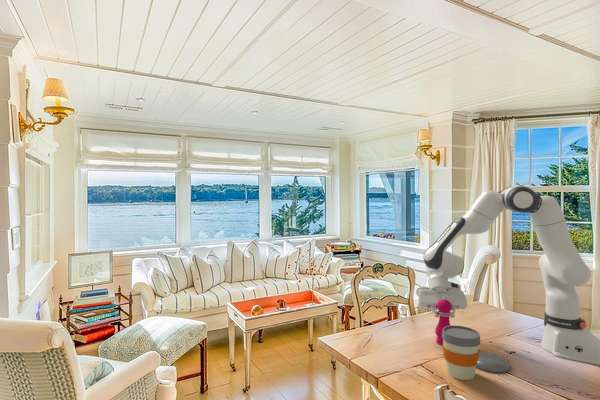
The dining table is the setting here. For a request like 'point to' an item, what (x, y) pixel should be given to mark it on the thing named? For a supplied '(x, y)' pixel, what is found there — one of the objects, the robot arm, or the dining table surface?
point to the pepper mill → (443, 318)
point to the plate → (492, 363)
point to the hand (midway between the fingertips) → (444, 316)
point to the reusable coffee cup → (461, 351)
